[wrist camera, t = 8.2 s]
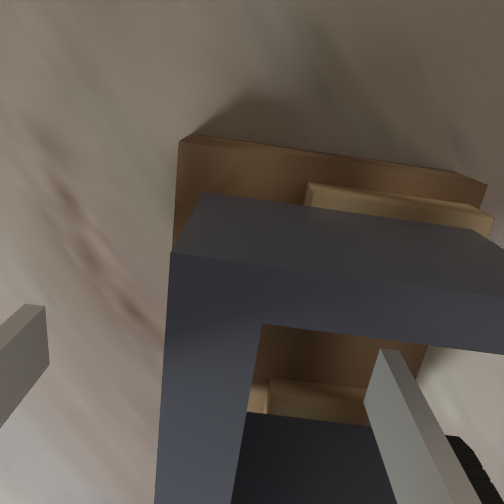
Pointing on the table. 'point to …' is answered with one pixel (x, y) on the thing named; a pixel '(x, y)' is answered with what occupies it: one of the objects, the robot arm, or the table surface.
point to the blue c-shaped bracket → (304, 317)
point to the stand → (336, 198)
